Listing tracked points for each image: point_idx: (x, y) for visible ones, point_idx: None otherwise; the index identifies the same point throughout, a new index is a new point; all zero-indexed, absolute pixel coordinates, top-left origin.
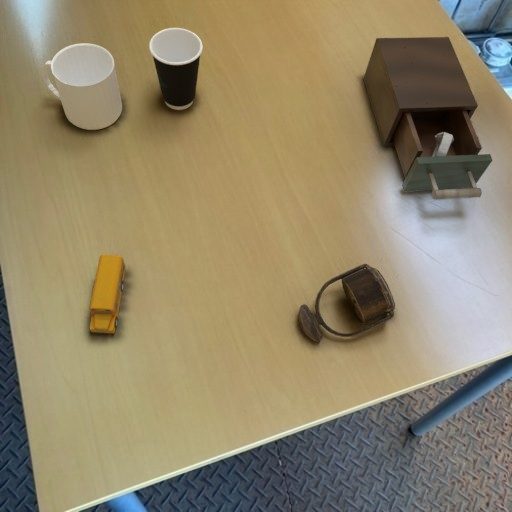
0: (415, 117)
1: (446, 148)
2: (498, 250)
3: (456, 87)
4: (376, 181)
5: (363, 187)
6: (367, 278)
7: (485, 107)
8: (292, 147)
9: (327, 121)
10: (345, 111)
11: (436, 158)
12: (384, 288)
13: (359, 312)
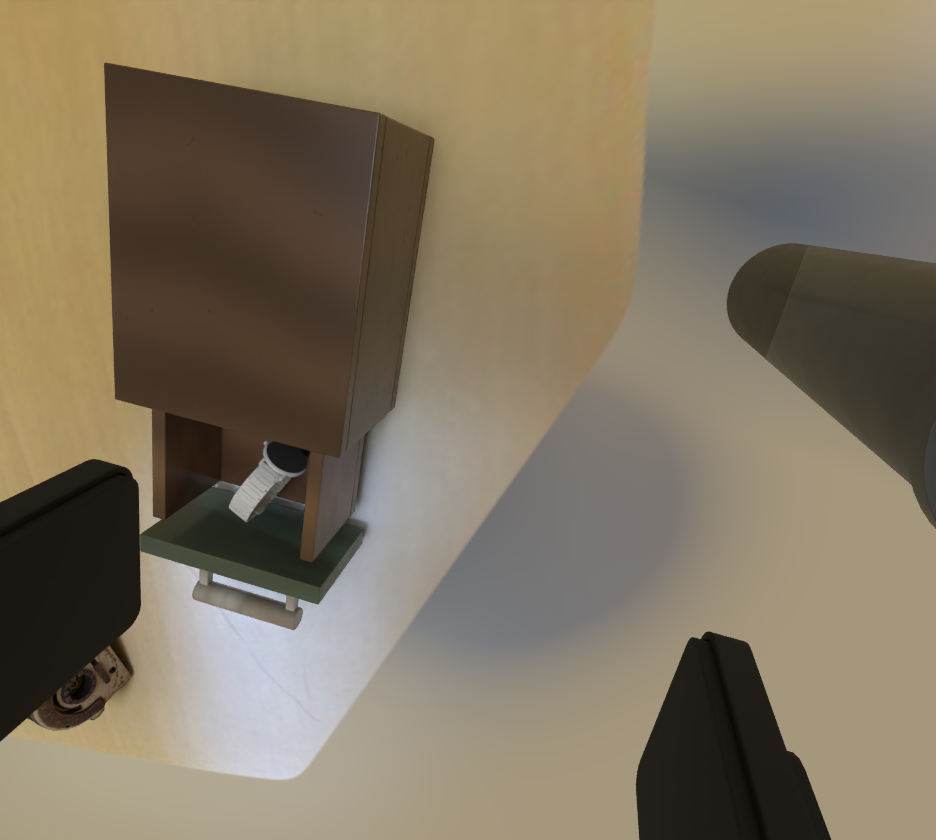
0: None
1: (243, 515)
2: (360, 661)
3: (304, 372)
4: None
5: (145, 451)
6: None
7: (546, 313)
8: (13, 303)
9: (97, 245)
10: None
11: (185, 552)
12: (38, 724)
13: None
